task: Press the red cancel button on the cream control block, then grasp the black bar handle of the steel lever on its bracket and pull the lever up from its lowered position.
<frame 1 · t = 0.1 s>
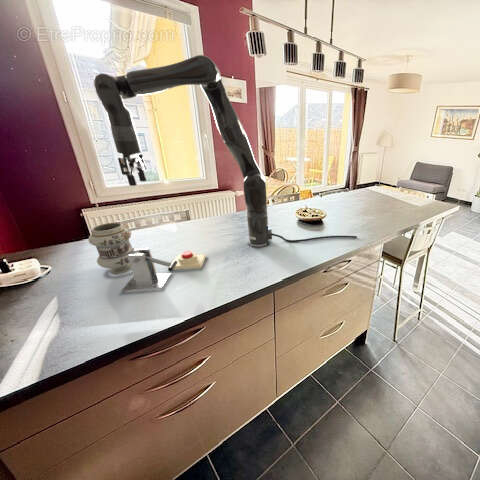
hand: (138, 183, 97), 29 cm above the worktop, tool pointing down, fingers open, 8 cm apart
button: (187, 254, 96), point 4 cm above the worktop, slide at 0.1 cm
button block: (189, 264, 97), on the worktop
lever: (155, 260, 82), point 9 cm above the worktop, hinge at -25.0°
apothecary jar: (123, 270, 92), on the worktop
bracket: (148, 284, 85), on the worktop
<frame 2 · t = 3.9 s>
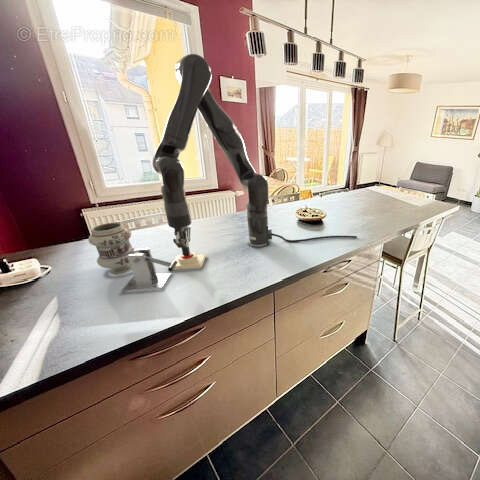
hand: (186, 254, 95), 5 cm above the worktop, tool pointing down, fingers closed
button: (187, 256, 96), point 4 cm above the worktop, slide at -0.6 cm, touching gripper
everything else where it was.
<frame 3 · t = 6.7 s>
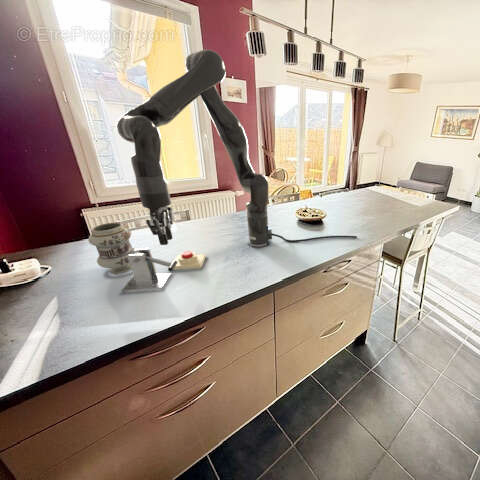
hand: (166, 241, 80), 16 cm above the worktop, tool pointing down, fingers open, 3 cm apart
button: (187, 254, 96), point 4 cm above the worktop, slide at 0.1 cm
everything else where it was.
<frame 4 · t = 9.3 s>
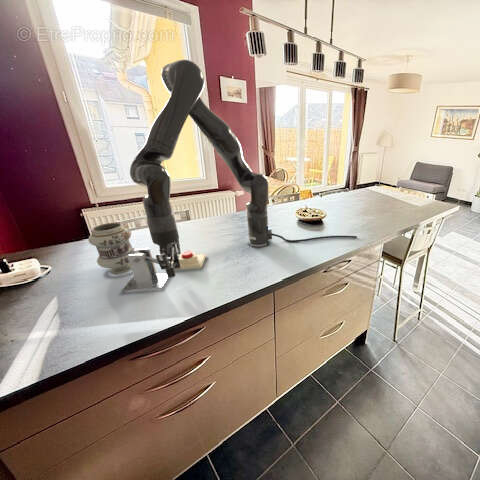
hand: (174, 272, 85), 4 cm above the worktop, tool pointing down, fingers closed on lever, 5 cm apart
lever: (155, 260, 82), point 9 cm above the worktop, hinge at -25.1°, touching gripper
everything else where it was.
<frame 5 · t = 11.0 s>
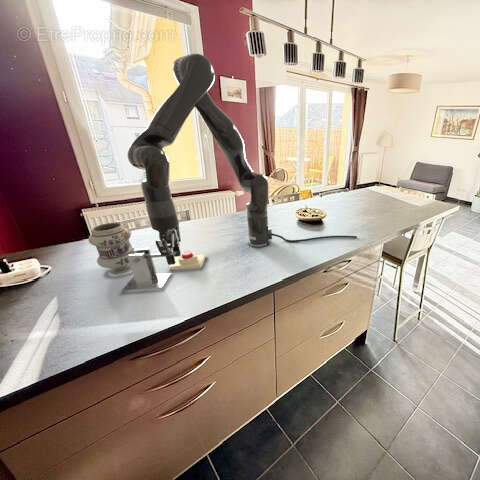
hand: (174, 259, 83), 9 cm above the worktop, tool pointing down, fingers closed on lever, 5 cm apart
lever: (155, 255, 81), point 11 cm above the worktop, hinge at 1.8°, touching gripper
everything else where it was.
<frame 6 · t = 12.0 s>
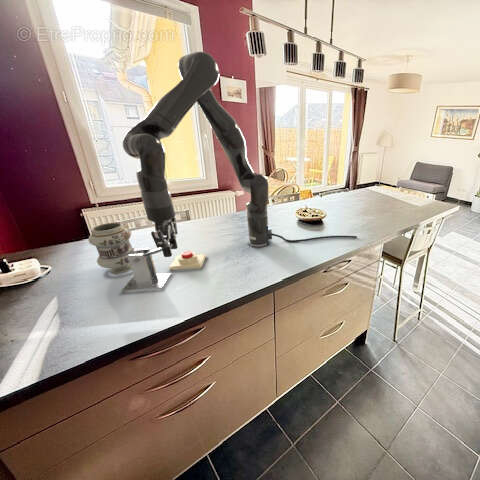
hand: (171, 252, 82), 12 cm above the worktop, tool pointing down, fingers closed on lever, 5 cm apart
lever: (153, 251, 80), point 12 cm above the worktop, hinge at 18.2°, touching gripper
everything else where it was.
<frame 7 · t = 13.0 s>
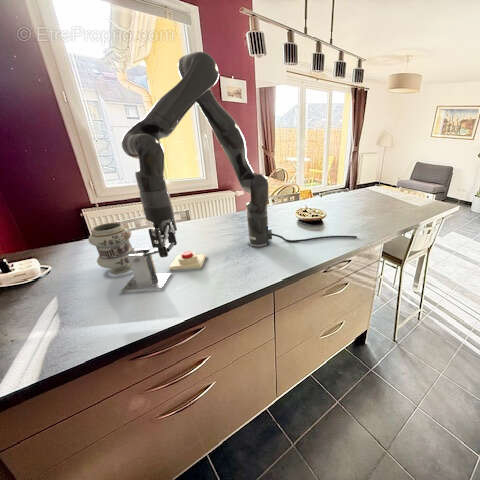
hand: (169, 250, 81), 13 cm above the worktop, tool pointing down, fingers open, 8 cm apart
lever: (153, 252, 80), point 12 cm above the worktop, hinge at 17.5°
everything else where it was.
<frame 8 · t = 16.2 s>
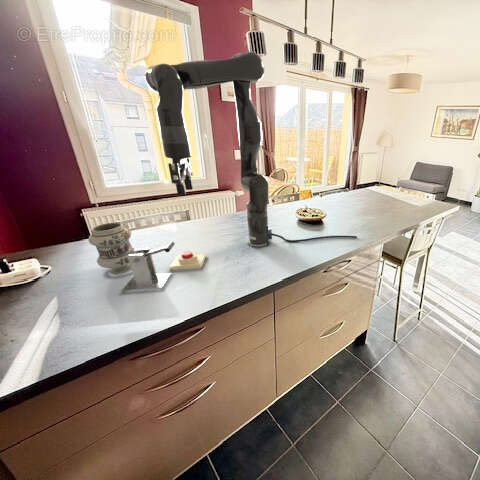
hand: (186, 192, 83), 30 cm above the worktop, tool pointing down, fingers open, 8 cm apart
nothing on the worktop moved.
at the end: button pushed in 1.1 cm at the most during the clip, back to where it started at the end; button slide at 0.1 cm; lever at +18° (first picture: -25°) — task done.
